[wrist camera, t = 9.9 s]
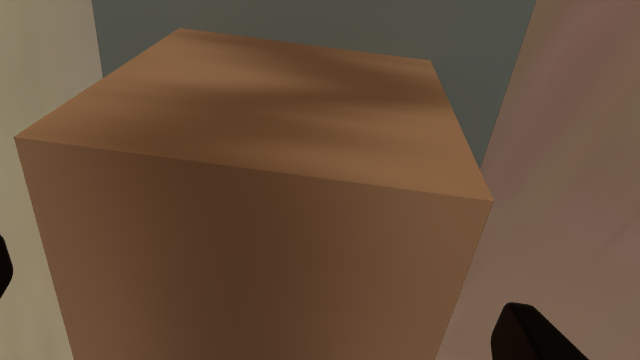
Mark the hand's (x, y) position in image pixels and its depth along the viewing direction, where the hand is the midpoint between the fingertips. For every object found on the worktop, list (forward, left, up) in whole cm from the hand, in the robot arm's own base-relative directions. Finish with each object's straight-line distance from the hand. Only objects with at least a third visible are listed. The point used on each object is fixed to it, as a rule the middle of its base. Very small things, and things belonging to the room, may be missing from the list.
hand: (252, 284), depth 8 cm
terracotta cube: (0, 0, -5) cm, 5 cm away
